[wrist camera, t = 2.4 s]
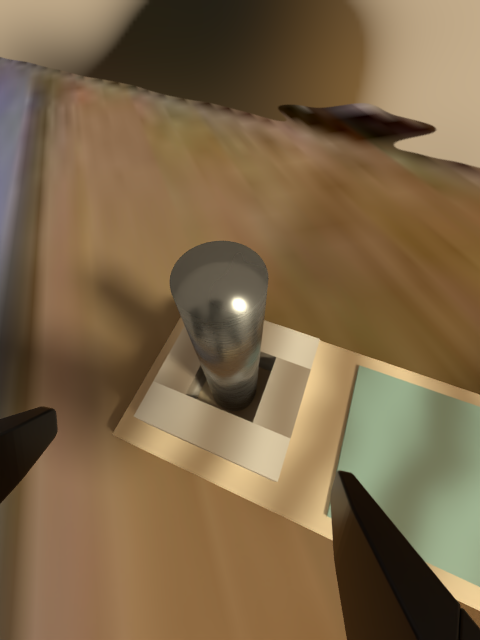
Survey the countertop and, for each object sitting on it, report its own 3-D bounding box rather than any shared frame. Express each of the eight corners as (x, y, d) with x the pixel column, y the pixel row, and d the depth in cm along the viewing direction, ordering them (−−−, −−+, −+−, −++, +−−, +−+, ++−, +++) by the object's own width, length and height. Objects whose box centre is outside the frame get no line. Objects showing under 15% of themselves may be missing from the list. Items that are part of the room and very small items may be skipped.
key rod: (219, 417, 20) (182, 333, 8) (207, 375, 21) (161, 254, 10) (262, 402, 20) (284, 302, 9) (247, 361, 21) (248, 231, 10)
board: (117, 436, 20) (90, 427, 17) (193, 303, 25) (185, 275, 22) (534, 635, 15) (623, 684, 11) (519, 415, 20) (576, 401, 17)
